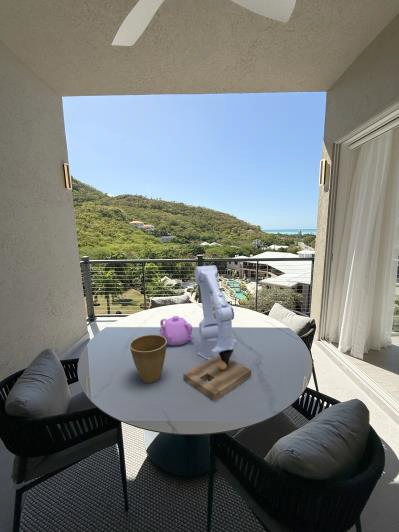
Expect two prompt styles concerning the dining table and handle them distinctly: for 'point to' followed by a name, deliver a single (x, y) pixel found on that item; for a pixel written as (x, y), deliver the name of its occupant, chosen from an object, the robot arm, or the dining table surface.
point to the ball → (222, 365)
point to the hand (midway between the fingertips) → (225, 365)
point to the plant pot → (149, 356)
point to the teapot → (176, 330)
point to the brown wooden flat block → (216, 377)
